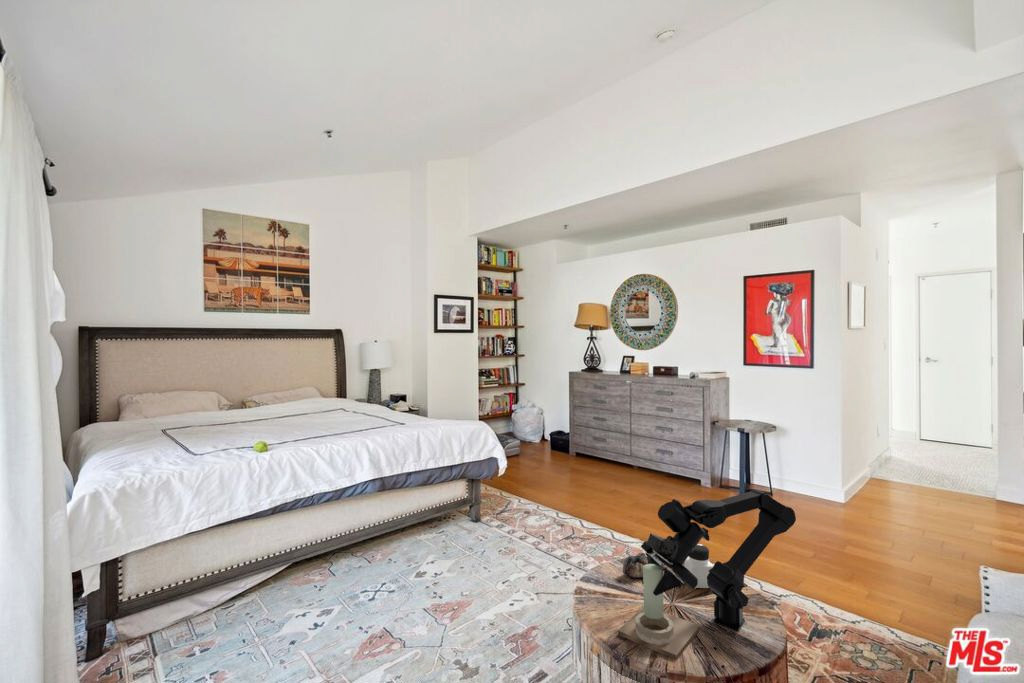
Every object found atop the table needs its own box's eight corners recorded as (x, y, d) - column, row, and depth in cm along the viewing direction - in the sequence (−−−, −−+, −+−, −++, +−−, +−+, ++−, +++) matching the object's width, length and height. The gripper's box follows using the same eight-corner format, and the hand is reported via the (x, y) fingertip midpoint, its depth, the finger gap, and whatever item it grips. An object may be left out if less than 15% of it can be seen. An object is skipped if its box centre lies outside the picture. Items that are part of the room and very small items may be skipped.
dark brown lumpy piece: (619, 577, 159) (645, 587, 152) (618, 556, 160) (644, 565, 152) (641, 566, 167) (666, 575, 159) (639, 546, 167) (665, 554, 160)
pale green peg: (661, 608, 129) (661, 564, 129) (665, 619, 124) (664, 573, 124) (642, 607, 129) (641, 563, 129) (645, 618, 124) (644, 572, 124)
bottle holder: (699, 630, 129) (699, 614, 129) (676, 660, 117) (676, 643, 117) (644, 609, 140) (644, 594, 140) (618, 634, 128) (617, 619, 128)
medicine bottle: (714, 589, 151) (714, 551, 151) (692, 589, 151) (691, 551, 151) (706, 578, 158) (705, 541, 158) (684, 578, 158) (683, 541, 158)
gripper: (646, 512, 137) (612, 555, 134) (686, 537, 119) (648, 588, 116) (670, 535, 139) (637, 579, 136) (714, 564, 121) (677, 615, 118)
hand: (648, 589), depth 126 cm, fingers closed on pale green peg, 5 cm apart
